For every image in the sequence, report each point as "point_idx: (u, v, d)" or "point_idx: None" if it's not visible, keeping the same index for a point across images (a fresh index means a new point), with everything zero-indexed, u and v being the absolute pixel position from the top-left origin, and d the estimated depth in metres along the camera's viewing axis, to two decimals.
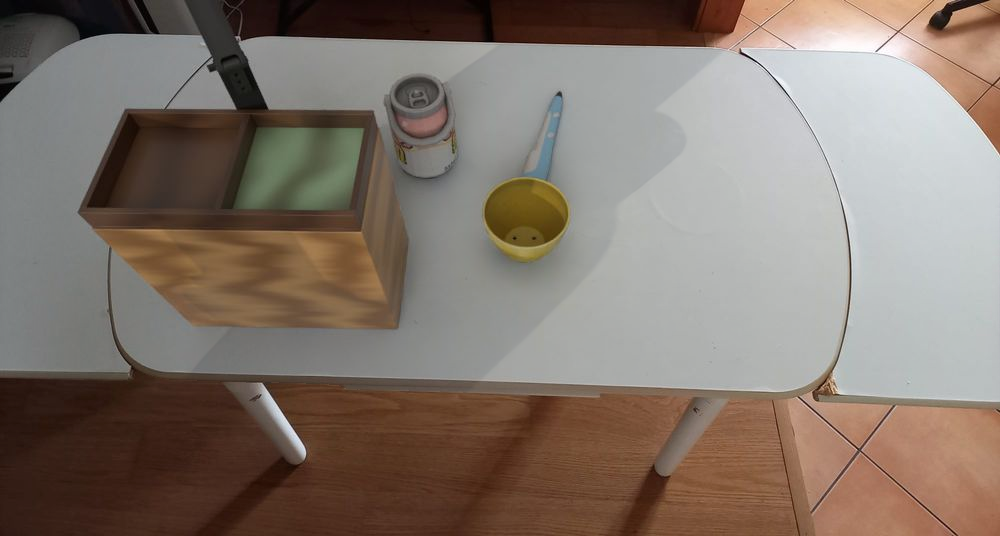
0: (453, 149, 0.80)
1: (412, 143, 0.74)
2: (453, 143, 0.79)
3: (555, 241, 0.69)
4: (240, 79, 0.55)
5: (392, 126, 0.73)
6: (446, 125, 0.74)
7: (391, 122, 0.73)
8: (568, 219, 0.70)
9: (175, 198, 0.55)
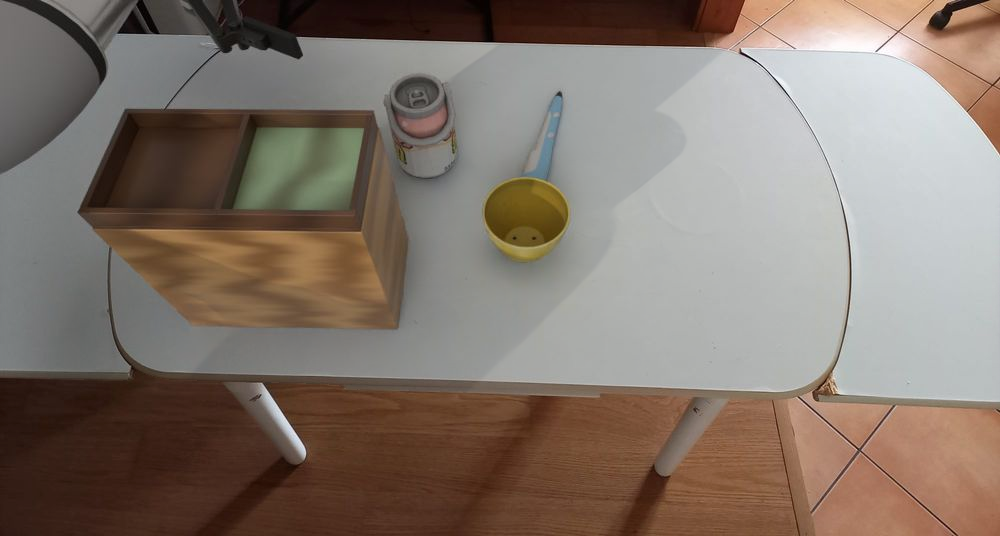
0: (453, 149, 0.80)
1: (412, 143, 0.74)
2: (453, 143, 0.79)
3: (555, 241, 0.69)
4: None
5: (392, 126, 0.73)
6: (446, 125, 0.74)
7: (391, 122, 0.73)
8: (568, 219, 0.70)
9: (175, 198, 0.55)
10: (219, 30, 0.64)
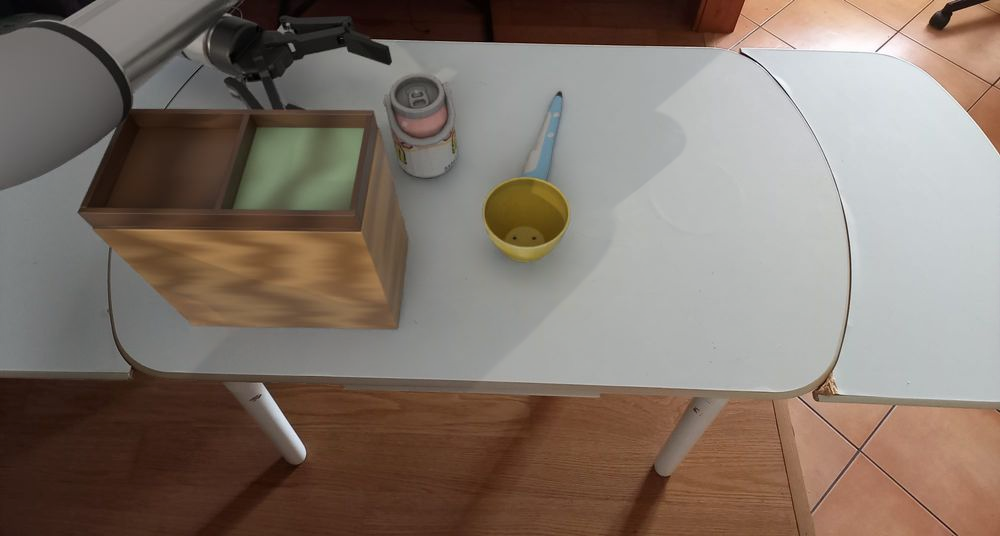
0: (453, 149, 0.80)
1: (412, 143, 0.74)
2: (453, 143, 0.79)
3: (555, 241, 0.69)
4: None
5: (392, 126, 0.73)
6: (446, 125, 0.74)
7: (391, 122, 0.73)
8: (568, 219, 0.70)
9: (175, 198, 0.55)
10: None
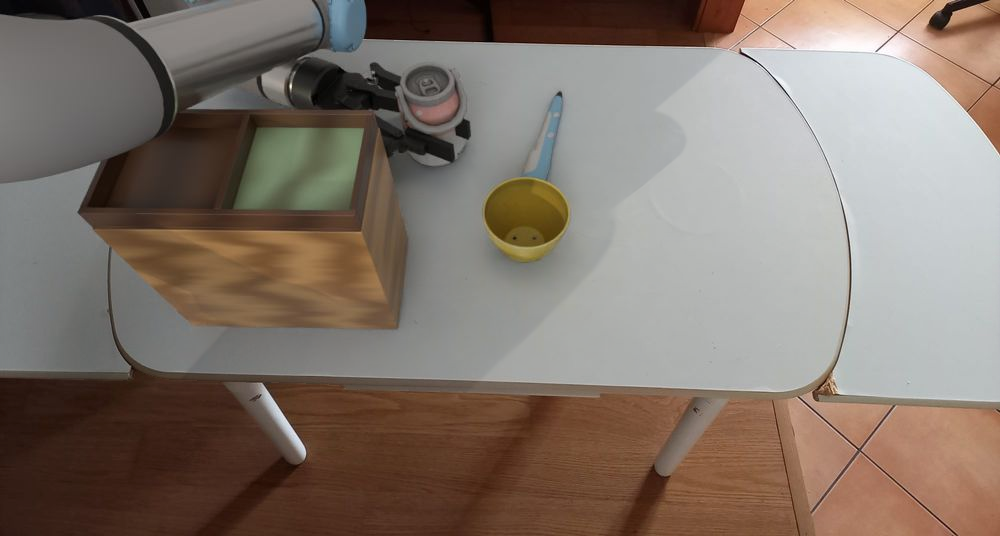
0: None
1: (429, 131, 0.75)
2: None
3: (555, 241, 0.69)
4: None
5: (407, 116, 0.74)
6: (459, 110, 0.76)
7: (406, 112, 0.74)
8: (568, 219, 0.70)
9: (175, 198, 0.55)
10: (387, 139, 0.75)
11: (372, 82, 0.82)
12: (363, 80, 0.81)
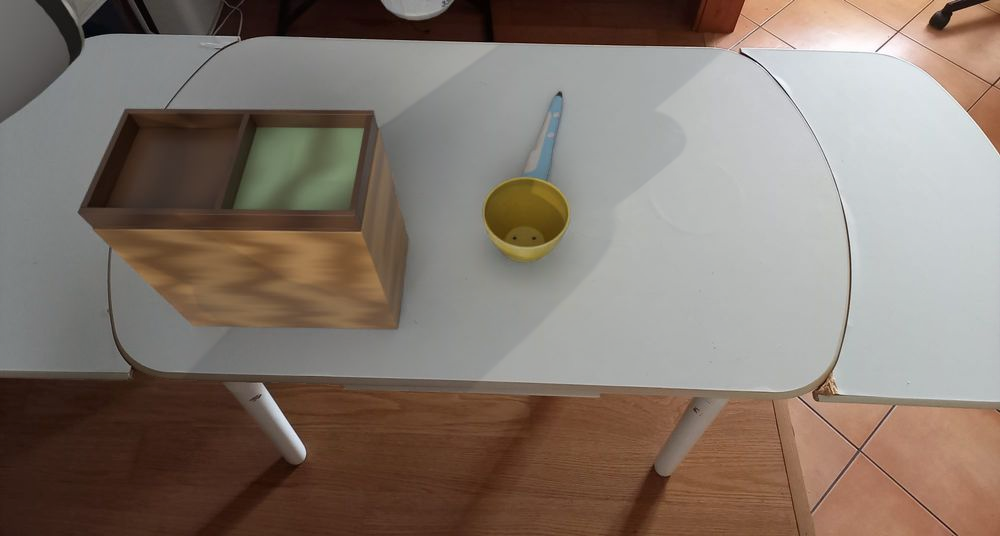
0: None
1: None
2: None
3: (555, 241, 0.69)
4: None
5: None
6: None
7: None
8: (568, 219, 0.70)
9: (175, 198, 0.55)
10: None
11: None
12: None
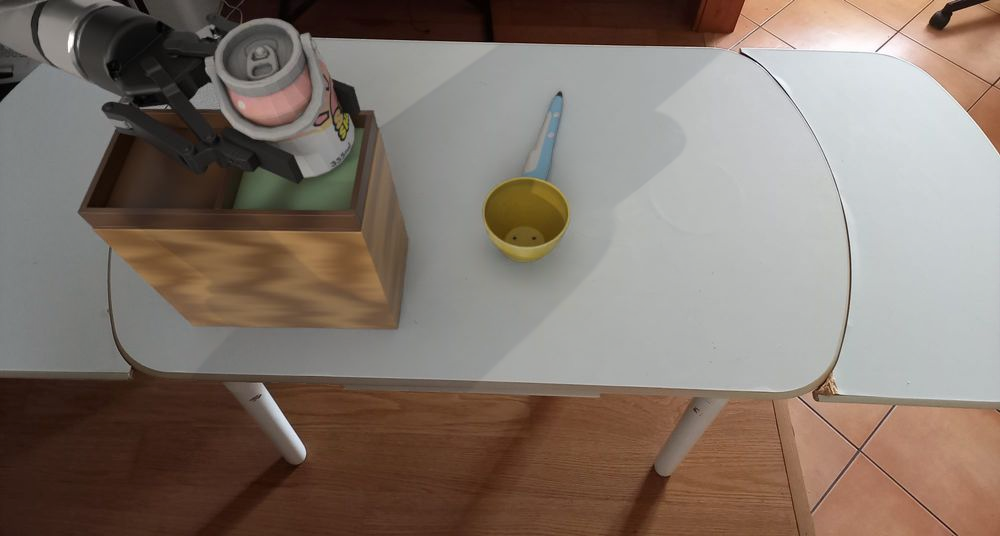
0: (341, 135, 0.52)
1: (257, 136, 0.46)
2: (338, 127, 0.51)
3: (555, 241, 0.69)
4: None
5: (222, 109, 0.46)
6: (310, 104, 0.46)
7: (220, 103, 0.46)
8: (568, 219, 0.70)
9: (175, 198, 0.55)
10: (189, 146, 0.47)
11: (214, 43, 0.55)
12: (198, 40, 0.53)
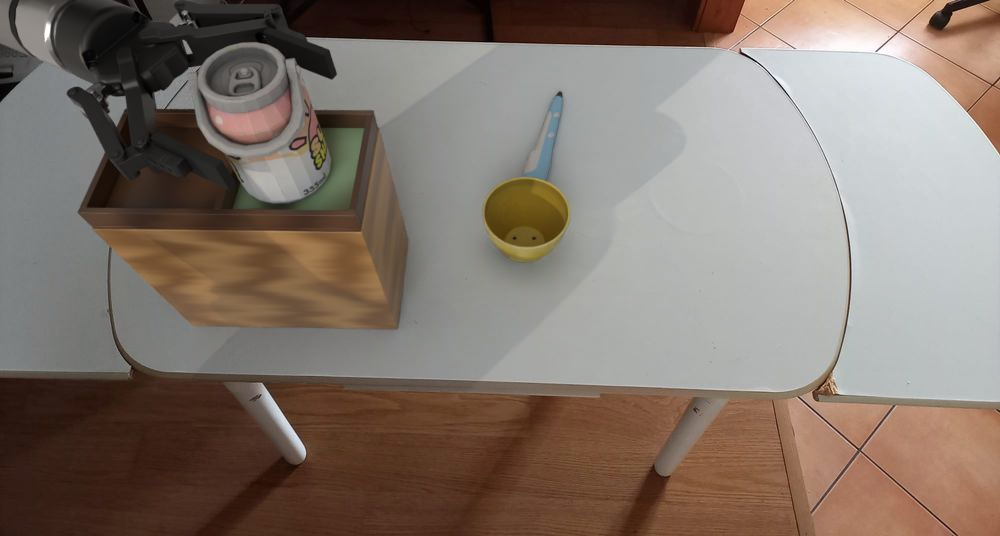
0: (316, 163, 0.52)
1: (231, 152, 0.46)
2: (315, 155, 0.52)
3: (555, 241, 0.69)
4: None
5: (199, 123, 0.46)
6: (288, 126, 0.47)
7: (197, 117, 0.46)
8: (568, 219, 0.70)
9: (175, 198, 0.55)
10: (118, 152, 0.46)
11: None
12: None
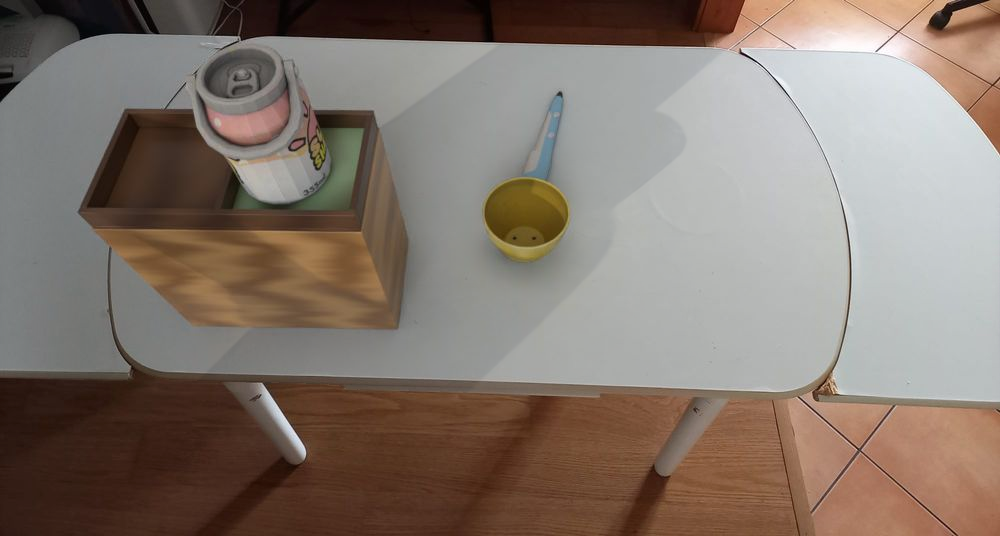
0: (316, 164, 0.52)
1: (230, 154, 0.46)
2: (314, 155, 0.52)
3: (555, 241, 0.69)
4: None
5: (198, 125, 0.46)
6: (286, 127, 0.47)
7: (196, 119, 0.46)
8: (568, 219, 0.70)
9: (175, 198, 0.55)
10: None
11: None
12: None
